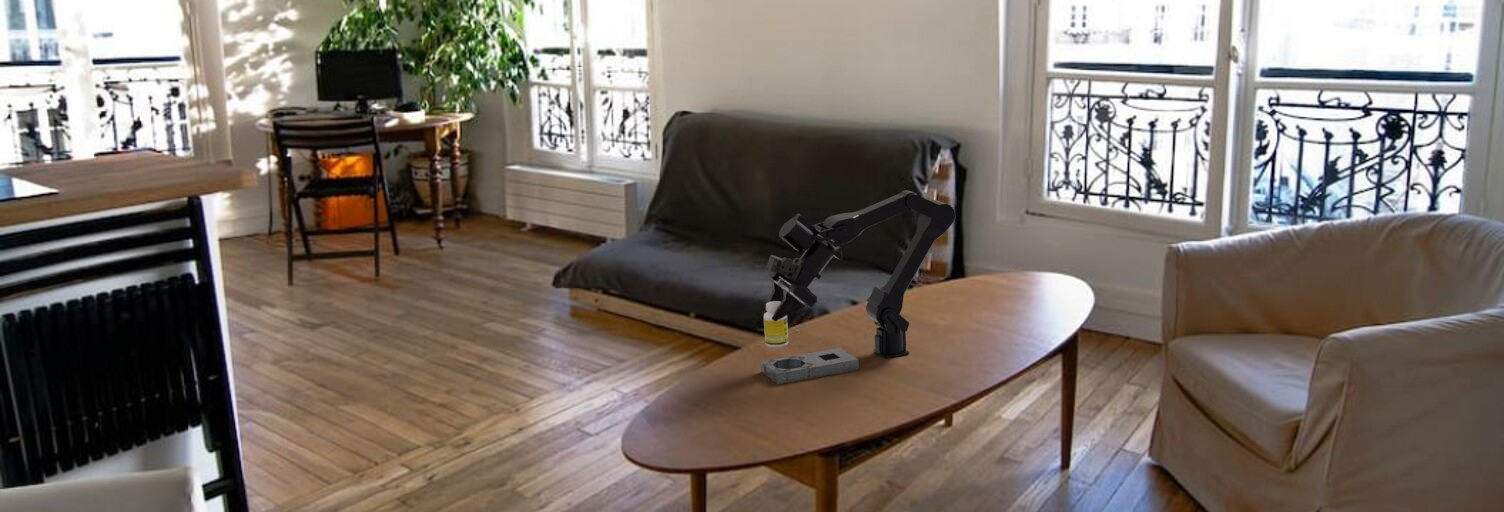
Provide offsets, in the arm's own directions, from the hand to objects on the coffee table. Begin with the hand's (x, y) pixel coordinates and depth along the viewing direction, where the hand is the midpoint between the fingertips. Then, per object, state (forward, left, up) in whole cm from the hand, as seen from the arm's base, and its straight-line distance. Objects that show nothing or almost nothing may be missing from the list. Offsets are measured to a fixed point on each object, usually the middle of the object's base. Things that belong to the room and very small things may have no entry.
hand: (769, 316), depth 270 cm
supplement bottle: (-1, 0, -7) cm, 7 cm away
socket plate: (-8, +4, -13) cm, 16 cm away
